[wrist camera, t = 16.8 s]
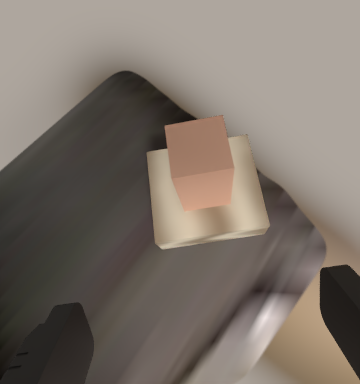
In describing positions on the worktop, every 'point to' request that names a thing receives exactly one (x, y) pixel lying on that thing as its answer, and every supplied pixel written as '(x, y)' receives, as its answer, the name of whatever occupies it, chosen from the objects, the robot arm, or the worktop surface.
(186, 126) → the terracotta block
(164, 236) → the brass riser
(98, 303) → the worktop surface
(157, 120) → the worktop surface
